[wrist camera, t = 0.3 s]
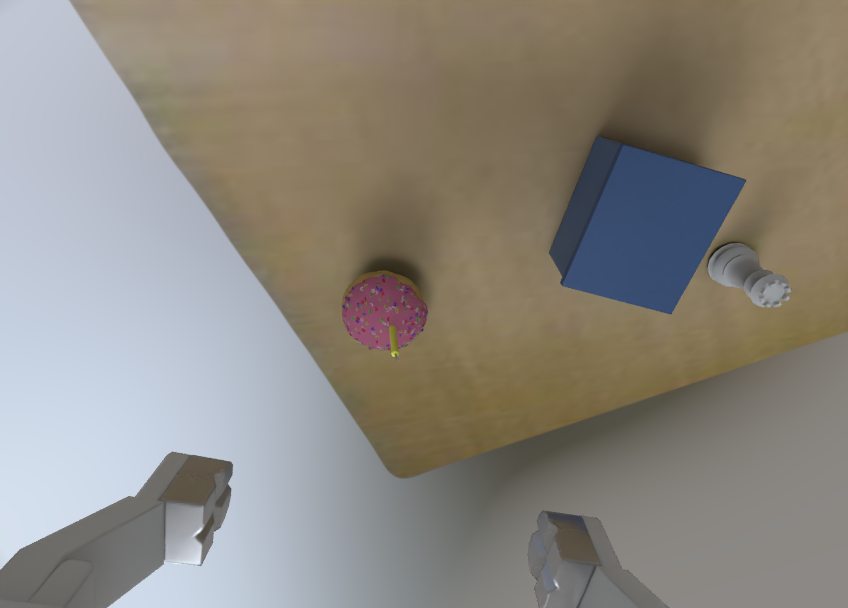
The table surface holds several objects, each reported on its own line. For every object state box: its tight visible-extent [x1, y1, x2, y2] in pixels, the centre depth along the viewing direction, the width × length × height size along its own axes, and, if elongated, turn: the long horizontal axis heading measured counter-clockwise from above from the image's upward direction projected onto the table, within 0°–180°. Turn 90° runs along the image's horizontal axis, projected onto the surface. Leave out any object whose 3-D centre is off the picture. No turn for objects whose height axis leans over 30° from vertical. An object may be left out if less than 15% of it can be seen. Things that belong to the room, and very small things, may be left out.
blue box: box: [549, 136, 746, 314], centre depth 45 cm, size 13×11×8 cm
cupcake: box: [342, 270, 428, 361], centre depth 47 cm, size 9×8×12 cm
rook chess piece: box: [708, 243, 791, 308], centre depth 46 cm, size 4×4×8 cm
